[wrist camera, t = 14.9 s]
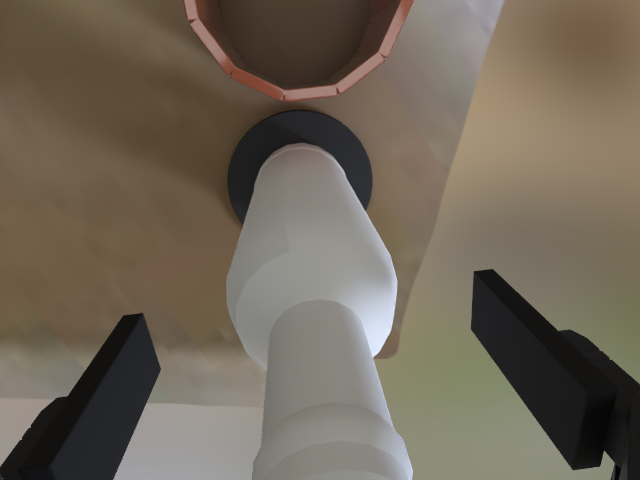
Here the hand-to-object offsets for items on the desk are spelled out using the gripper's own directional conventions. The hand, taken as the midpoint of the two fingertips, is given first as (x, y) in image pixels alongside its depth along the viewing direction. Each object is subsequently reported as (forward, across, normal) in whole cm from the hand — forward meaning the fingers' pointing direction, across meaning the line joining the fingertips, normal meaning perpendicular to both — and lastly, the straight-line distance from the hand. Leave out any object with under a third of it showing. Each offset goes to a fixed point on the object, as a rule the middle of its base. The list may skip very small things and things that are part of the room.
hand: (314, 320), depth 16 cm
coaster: (+22, 0, 0) cm, 22 cm away
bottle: (+22, 0, 0) cm, 22 cm away
